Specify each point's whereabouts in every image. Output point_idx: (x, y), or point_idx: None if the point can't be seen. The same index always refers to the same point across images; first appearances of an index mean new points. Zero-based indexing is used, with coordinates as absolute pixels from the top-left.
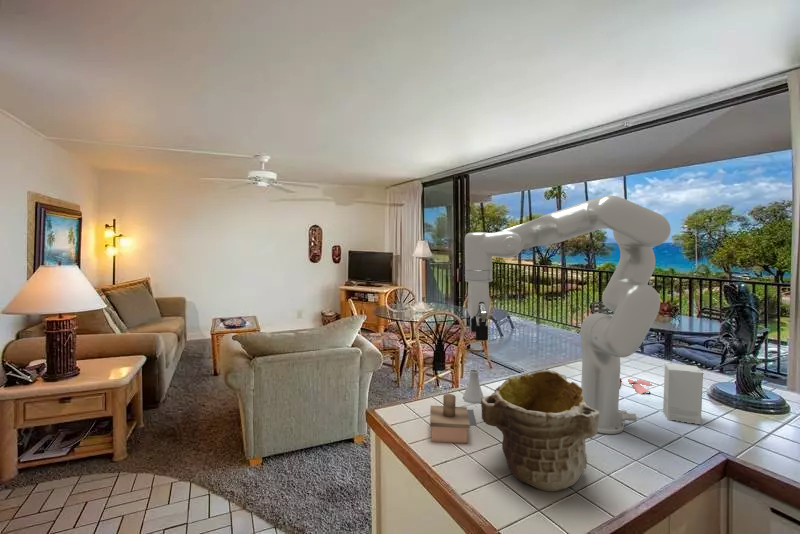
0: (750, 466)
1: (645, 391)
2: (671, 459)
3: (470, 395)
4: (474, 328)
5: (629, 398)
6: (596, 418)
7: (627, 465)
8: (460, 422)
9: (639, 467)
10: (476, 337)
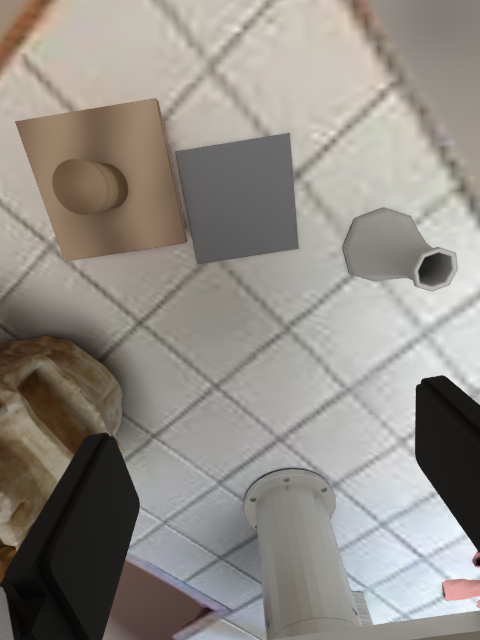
0: (200, 622)
1: (448, 594)
2: (185, 560)
3: (364, 240)
4: (435, 424)
5: (419, 564)
6: None
7: (141, 510)
8: (66, 231)
9: (142, 522)
10: (79, 452)
